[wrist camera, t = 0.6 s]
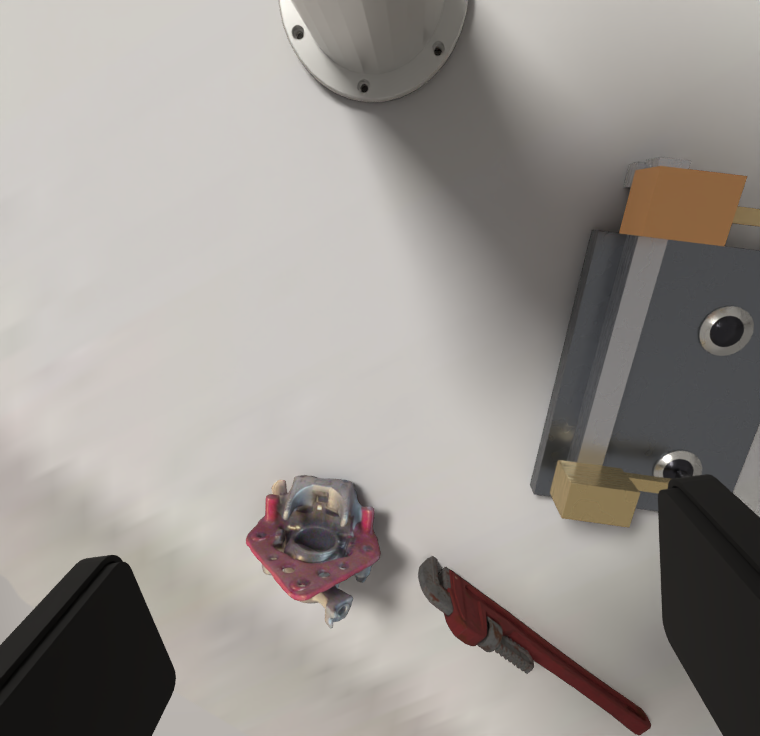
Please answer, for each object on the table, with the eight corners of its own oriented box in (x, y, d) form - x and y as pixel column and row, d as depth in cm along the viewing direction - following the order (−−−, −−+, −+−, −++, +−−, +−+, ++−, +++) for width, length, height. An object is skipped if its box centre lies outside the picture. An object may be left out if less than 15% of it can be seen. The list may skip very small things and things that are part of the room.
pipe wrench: (627, 715, 53) (410, 560, 48) (646, 703, 52) (428, 543, 47) (657, 784, 46) (411, 613, 41) (678, 771, 46) (431, 595, 41)
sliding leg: (625, 171, 34) (660, 165, 29) (789, 191, 33) (852, 188, 29) (610, 232, 35) (641, 236, 30) (767, 251, 35) (824, 258, 30)
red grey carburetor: (390, 467, 42) (373, 625, 35) (384, 510, 51) (370, 642, 44) (257, 451, 42) (215, 604, 35) (275, 496, 51) (244, 625, 44)
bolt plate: (609, 158, 36) (654, 147, 29) (835, 185, 35) (933, 180, 29) (529, 484, 44) (550, 534, 37) (711, 509, 44) (764, 564, 37)
